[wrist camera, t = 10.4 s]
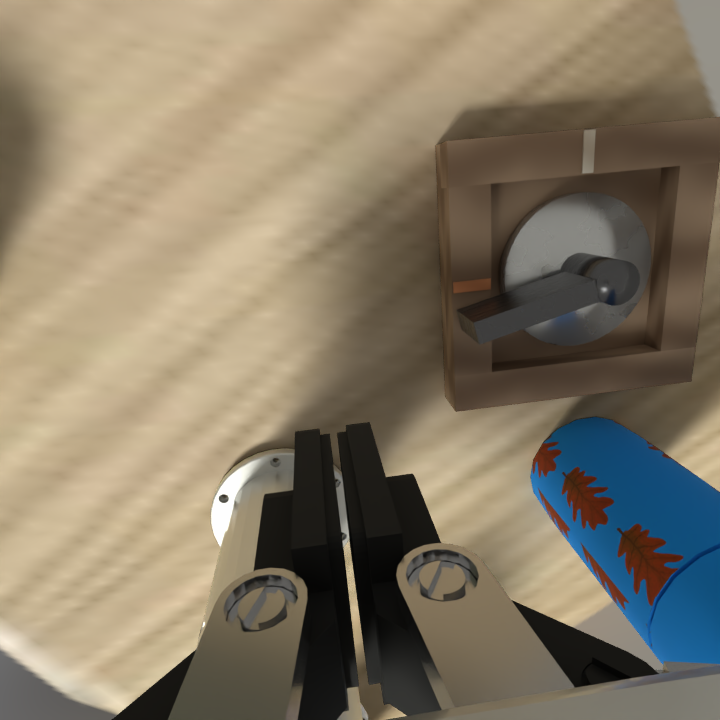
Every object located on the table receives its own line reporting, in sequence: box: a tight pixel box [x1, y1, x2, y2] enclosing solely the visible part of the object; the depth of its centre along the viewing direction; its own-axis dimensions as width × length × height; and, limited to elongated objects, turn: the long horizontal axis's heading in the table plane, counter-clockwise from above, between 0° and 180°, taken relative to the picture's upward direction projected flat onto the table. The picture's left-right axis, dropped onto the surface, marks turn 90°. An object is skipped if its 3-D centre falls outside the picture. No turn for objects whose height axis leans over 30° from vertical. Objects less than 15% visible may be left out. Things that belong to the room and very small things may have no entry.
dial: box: [456, 192, 651, 346], centre depth 36 cm, size 16×12×6 cm
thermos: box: [530, 417, 720, 664], centre depth 35 cm, size 11×11×25 cm
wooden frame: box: [435, 117, 720, 412], centre depth 39 cm, size 20×20×3 cm
